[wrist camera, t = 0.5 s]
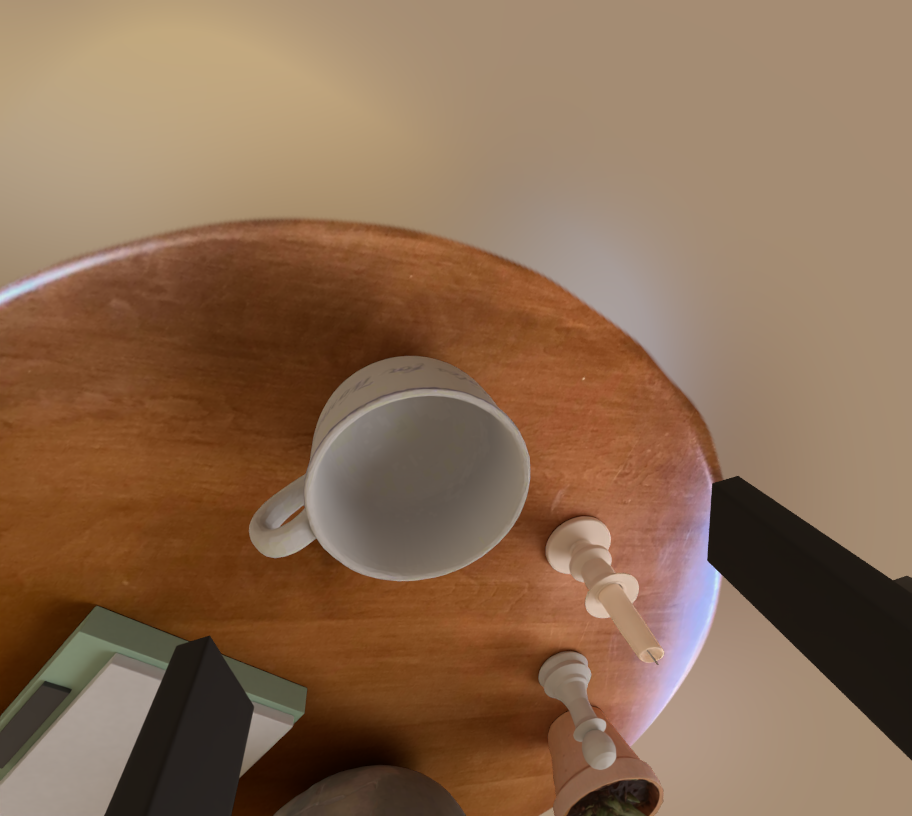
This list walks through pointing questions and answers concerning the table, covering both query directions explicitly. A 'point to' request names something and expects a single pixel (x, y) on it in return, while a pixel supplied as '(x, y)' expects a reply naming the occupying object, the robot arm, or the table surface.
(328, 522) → the teacup
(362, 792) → the bowl
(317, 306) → the table surface
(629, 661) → the table surface
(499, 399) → the table surface
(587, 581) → the candle
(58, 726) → the scale
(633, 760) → the potted plant
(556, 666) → the chess piece
